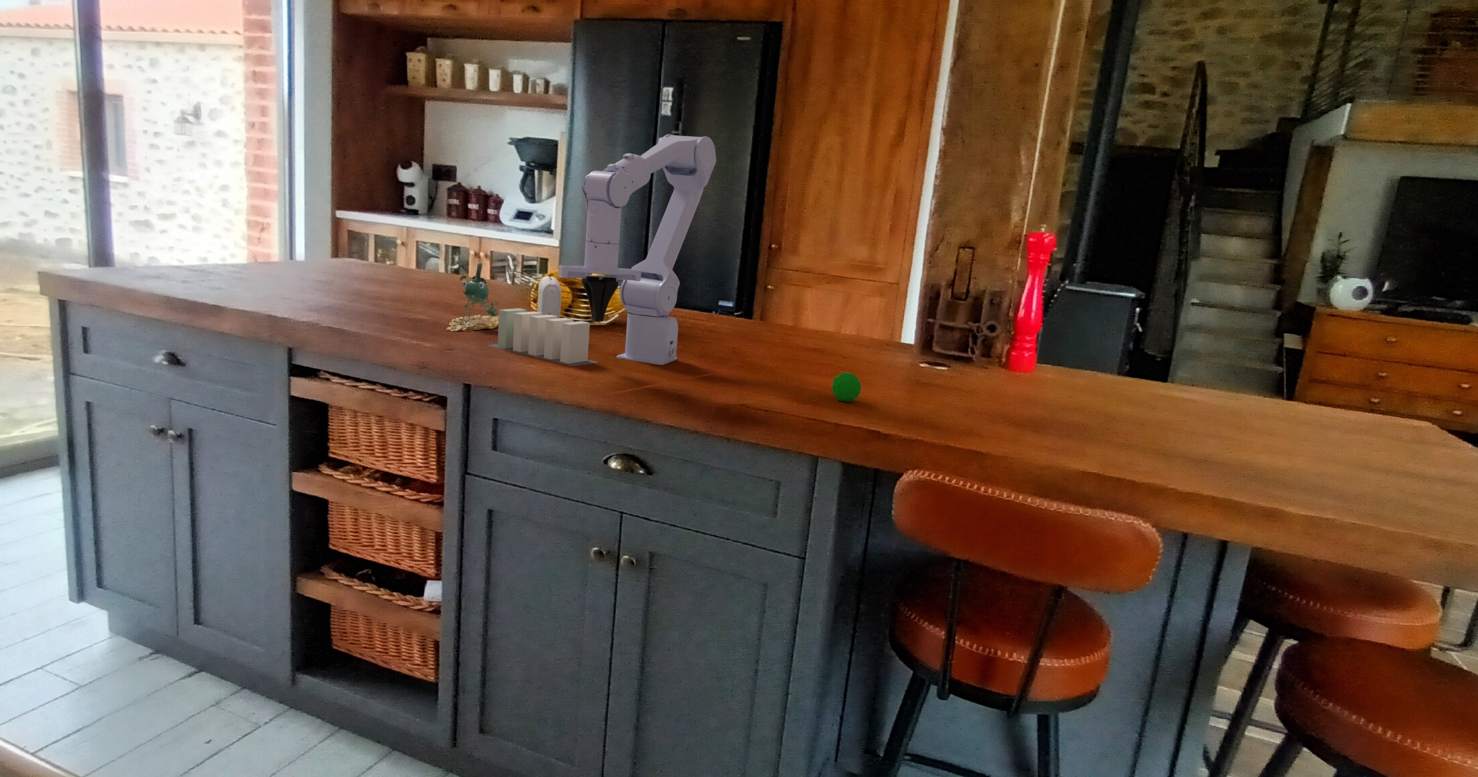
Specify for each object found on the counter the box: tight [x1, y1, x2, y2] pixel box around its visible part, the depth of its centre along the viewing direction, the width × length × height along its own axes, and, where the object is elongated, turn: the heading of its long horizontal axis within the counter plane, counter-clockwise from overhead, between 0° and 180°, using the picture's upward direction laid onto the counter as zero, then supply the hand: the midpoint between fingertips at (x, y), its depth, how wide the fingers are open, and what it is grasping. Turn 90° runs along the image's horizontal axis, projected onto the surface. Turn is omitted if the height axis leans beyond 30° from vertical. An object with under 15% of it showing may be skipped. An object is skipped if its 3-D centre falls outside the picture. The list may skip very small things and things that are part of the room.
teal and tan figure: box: [445, 261, 499, 332], centre depth 183 cm, size 10×18×15 cm, turn 155°
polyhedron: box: [831, 372, 862, 403], centre depth 148 cm, size 5×5×5 cm
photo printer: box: [537, 275, 562, 319], centre depth 182 cm, size 10×4×12 cm, turn 17°
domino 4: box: [560, 320, 591, 364], centre depth 157 cm, size 2×5×7 cm, turn 147°
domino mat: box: [486, 343, 600, 367], centre depth 162 cm, size 22×7×1 cm, turn 57°
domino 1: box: [513, 311, 542, 352], centre depth 163 cm, size 2×5×7 cm, turn 147°
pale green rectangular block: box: [497, 308, 528, 348], centre depth 165 cm, size 2×5×7 cm, turn 147°
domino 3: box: [544, 317, 574, 360], centre depth 159 cm, size 2×5×7 cm, turn 148°
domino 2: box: [528, 315, 557, 356], centre depth 161 cm, size 2×5×7 cm, turn 148°
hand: (597, 320), depth 153 cm, fingers closed
